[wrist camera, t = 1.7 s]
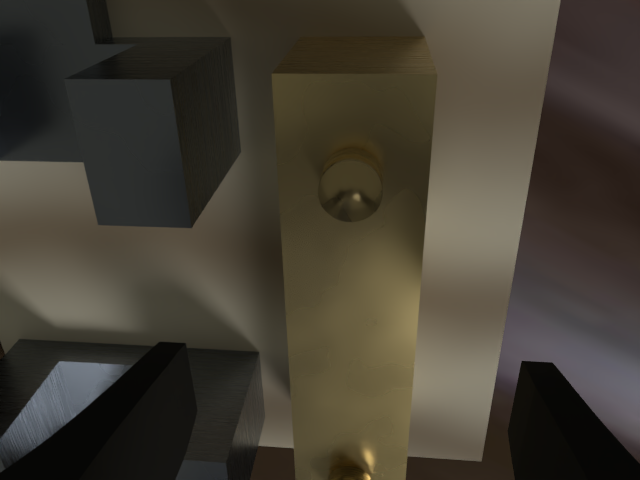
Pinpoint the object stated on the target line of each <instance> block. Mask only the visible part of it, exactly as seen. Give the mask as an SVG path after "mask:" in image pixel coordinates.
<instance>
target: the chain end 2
mask: <svg viewBox="0 0 640 480" xmlns="http://www.w3.org/2000/svg"><path fill="white" fill-rule="evenodd" d="M153 347H154V346H143V345H124V344H106V343H87V342H68V341H50V340H31V339H19V340H18V341H17V342H16V343H15V344H14V345H13V346H12V348H11V349H10V350H9V351H8V352H7V353H6V354H5V355H4V357H3V358H2V359H1V360H0V472H2V471H3V470H5V469H6V468H8V467H9V466H10V465H12V464H13V463H15V462H16V461H18V460H19V459H20V458H22V457H23V456H25V455H26V454H28V453H29V452H30V451H32V450H33V449H34V448H36V447H37V446H39V445H40V444H41V443H43V442H44V441H45V440H47V439H48V438H49V437H50V436H52V435H53V434H54V433H55V432H57V431H58V430H59V429H60V428H62V427H63V426H64V425H65V424H66V423H68V422H69V421H70V420H71V419H73V418H74V417H75V416H76V415H78V414H79V413H80V412H81V411H82V410H84V409H85V408H86V407H87V406H88V405H90V404H91V403H92V402H93V401H94V400H95V399H96V398H97V397H99V396H100V395H101V394H102V393H103V392H104V391H105V390H107V389H108V388H109V387H110V386H111V385H112V384H113V383H114V382H115V381H117V380H118V379H119V378H120V377H121V376H122V375H123V374H124V373H125V372H126V371H128V370H129V369H130V368H131V367H132V366H133V365H134V364H135V363H136V362H137V361H138V360H139V359H141V358H142V357H143V356H144V355H145V354H146V353H147V352H148V351H149V350H151V349H152V348H153ZM187 352H188V358H189V364H190V369H191V375H192V381H193V387H194V393H195V398H196V404H197V410H198V411H197V415H196V419H195V423H194V426H193V430H192V434H191V438H190V441H189V444H188V448H187V451H186V455H185V457H184V460H183V462H182V465H181V467H180V470H179V472H178V475H177V477H176V479H175V480H250V477H251V472H252V468H253V464H254V460H255V456H256V452H257V448H258V444H259V440H260V436H261V432H262V428H263V424H264V420H265V408H264V397H263V386H262V375H261V364H260V353H259V352H255V351H236V350H218V349H199V348H187Z"/></svg>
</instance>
